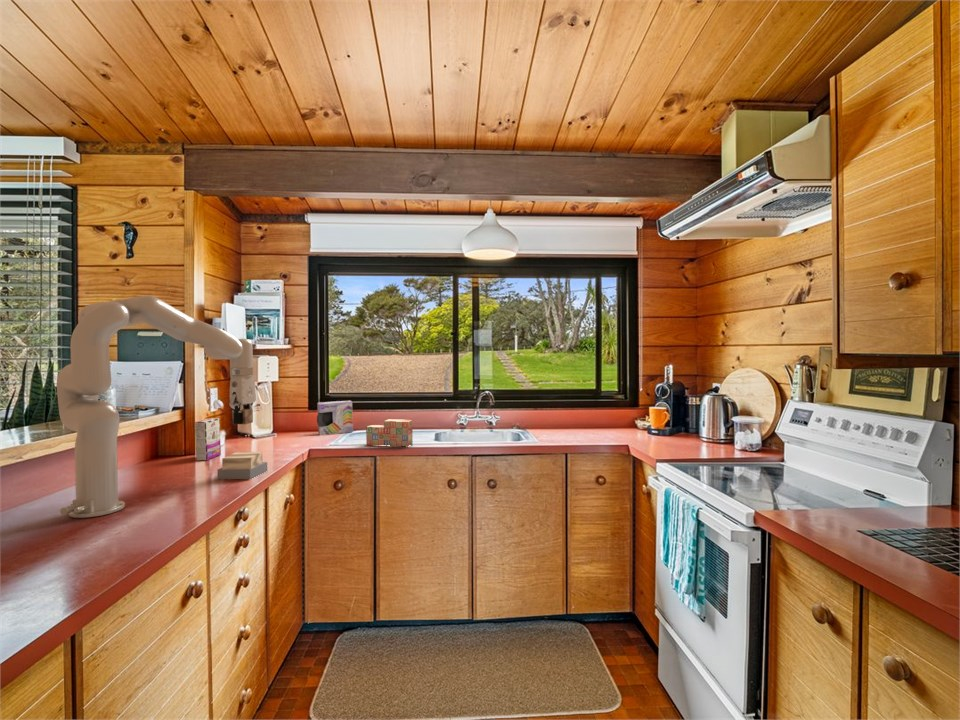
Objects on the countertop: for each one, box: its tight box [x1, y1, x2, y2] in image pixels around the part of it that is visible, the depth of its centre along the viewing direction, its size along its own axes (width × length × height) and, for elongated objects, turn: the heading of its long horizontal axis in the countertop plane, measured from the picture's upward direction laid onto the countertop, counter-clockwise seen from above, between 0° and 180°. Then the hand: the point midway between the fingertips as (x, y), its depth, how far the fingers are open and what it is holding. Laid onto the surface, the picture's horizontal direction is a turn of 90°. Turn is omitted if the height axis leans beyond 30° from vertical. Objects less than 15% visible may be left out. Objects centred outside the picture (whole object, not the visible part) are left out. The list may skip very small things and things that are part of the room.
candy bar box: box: [194, 417, 222, 461], centre depth 209 cm, size 11×5×16 cm, turn 0°
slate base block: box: [217, 461, 268, 480], centre depth 179 cm, size 12×12×4 cm
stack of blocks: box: [365, 418, 414, 446], centre depth 234 cm, size 21×6×12 cm, turn 78°
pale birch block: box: [221, 451, 263, 470], centre depth 178 cm, size 10×10×4 cm
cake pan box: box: [316, 400, 354, 436], centre depth 269 cm, size 19×5×18 cm, turn 119°
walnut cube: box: [231, 408, 254, 425], centre depth 178 cm, size 5×5×5 cm
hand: (242, 421), depth 178 cm, fingers closed on walnut cube, 4 cm apart
